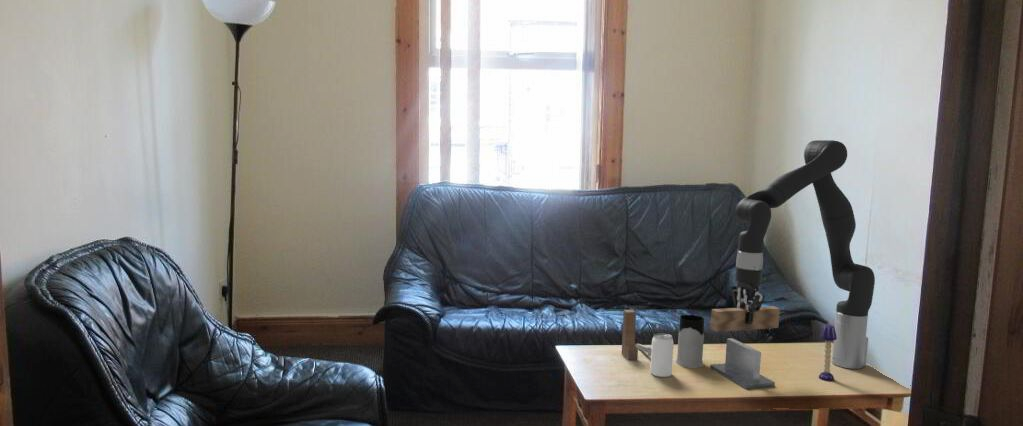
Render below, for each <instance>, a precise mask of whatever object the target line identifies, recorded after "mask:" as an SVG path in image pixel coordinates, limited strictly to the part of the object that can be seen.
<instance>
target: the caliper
mask: <svg viewBox="0 0 1023 426" xmlns="http://www.w3.org/2000/svg"><path fill="white" fill-rule="evenodd" d="M635 345H636V347H637V348H638V350H641V351H642V352H645V353H647V356H649V357H651V349H652V346H646V345H643V344H641V343H635Z"/></svg>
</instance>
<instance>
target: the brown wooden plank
mask: <svg viewBox="0 0 1023 426" xmlns="http://www.w3.org/2000/svg"><path fill="white" fill-rule="evenodd" d="M780 312H781V308H779V307H776V306H775V305H774V306H773V305H771V306H770V305H768V306H761V308H760V310H759V311H758V312H754V314H753V323H752V324H748V325H747V324H745V317H746V307H745V308H737V307H726V308H711V314H710V315H711V316H710V326H709V327H710V330H713V332H717V333H718V332H730V331H733V332H734V331H749V330H765V329H766V330H767V329H778V328H779V324H780Z"/></svg>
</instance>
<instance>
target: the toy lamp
mask: <svg viewBox="0 0 1023 426" xmlns="http://www.w3.org/2000/svg"><path fill="white" fill-rule="evenodd" d="M819 337H820V339H821V340H824V342H825V344H824V348H825V349H824V359H823V361H824V363H823V371H822V372H820V374H819V375H818V379H820V380H822V381H827V382H833V381H835V377H834V374H832V373H831V363H832V358H831V357H832V353H831V352H832V342H834V340H836V339H837V336H836V332H835V325H833V324H824V325H823V326H822V329H821V331H820V335H819Z"/></svg>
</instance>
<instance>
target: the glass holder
mask: <svg viewBox="0 0 1023 426" xmlns="http://www.w3.org/2000/svg"><path fill="white" fill-rule="evenodd" d="M704 328H705V318H704V317H703V316H700V315H696V314H695V315H694V314H682V315H680V316H679V329H678V337H677V339H678V340H677V355H676V359H675V364H676V365H678V366H681V367H684V368H689V369H690V368H691V369H693V368H694V369H699V368H702V367H704V363H703V358H704V357H703V355H704V354H703V353H704V340H705V339H704V337H705V332H704V330H705V329H704Z"/></svg>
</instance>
